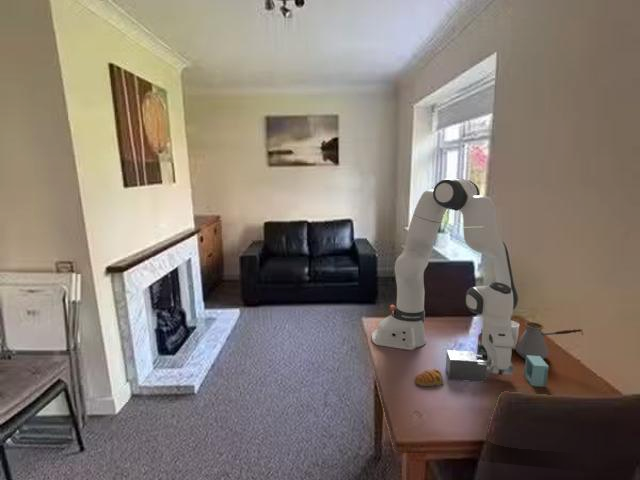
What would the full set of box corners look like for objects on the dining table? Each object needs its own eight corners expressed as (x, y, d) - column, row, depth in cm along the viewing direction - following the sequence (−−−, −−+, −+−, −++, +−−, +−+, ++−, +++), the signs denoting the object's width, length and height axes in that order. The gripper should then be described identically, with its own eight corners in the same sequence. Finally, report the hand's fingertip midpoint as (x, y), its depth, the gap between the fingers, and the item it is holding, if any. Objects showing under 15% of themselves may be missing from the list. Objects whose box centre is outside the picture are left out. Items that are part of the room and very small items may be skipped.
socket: (531, 385, 132) (534, 365, 131) (524, 374, 139) (526, 355, 138) (546, 386, 132) (548, 366, 130) (537, 375, 139) (539, 356, 137)
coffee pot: (511, 357, 151) (515, 320, 149) (517, 347, 160) (521, 312, 158) (577, 375, 139) (582, 335, 136) (579, 362, 148) (585, 324, 145)
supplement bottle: (492, 355, 153) (495, 327, 151) (494, 362, 148) (496, 333, 146) (476, 352, 155) (478, 325, 153) (477, 359, 150) (479, 331, 148)
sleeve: (449, 379, 136) (450, 359, 134) (445, 369, 143) (446, 350, 142) (485, 382, 134) (487, 362, 133) (480, 371, 141) (481, 352, 140)
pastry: (422, 390, 130) (422, 379, 129) (410, 380, 136) (410, 370, 135) (445, 384, 133) (446, 374, 132) (432, 375, 139) (433, 365, 139)
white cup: (512, 342, 164) (514, 319, 162) (520, 351, 157) (522, 327, 155) (493, 341, 165) (495, 319, 163) (499, 350, 157) (501, 326, 155)
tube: (454, 374, 136) (455, 360, 135) (452, 367, 141) (453, 353, 140) (513, 379, 134) (514, 364, 133) (508, 371, 139) (509, 357, 138)
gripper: (478, 318, 145) (476, 353, 147) (495, 343, 125) (491, 383, 127) (497, 319, 144) (493, 354, 146) (516, 344, 124) (512, 384, 126)
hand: (492, 368), depth 137 cm, fingers closed on tube, 4 cm apart
